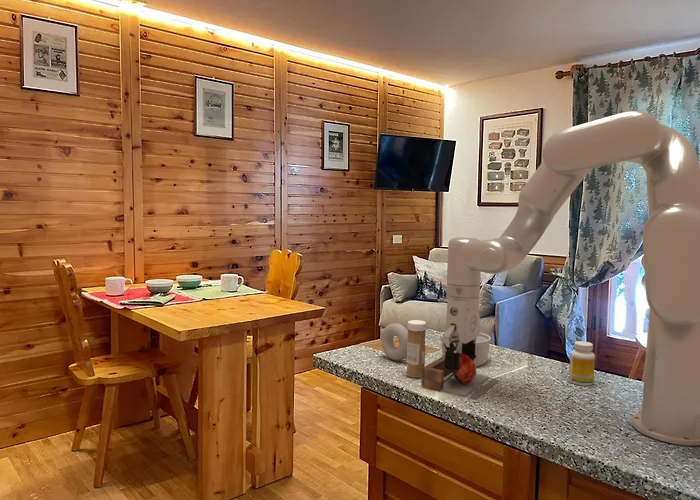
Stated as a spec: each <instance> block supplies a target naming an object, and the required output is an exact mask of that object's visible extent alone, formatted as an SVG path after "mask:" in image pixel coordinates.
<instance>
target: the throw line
mask: <svg viewBox="0 0 700 500" xmlns="http://www.w3.org/2000/svg"><path fill="white" fill-rule="evenodd" d="M499 382H500V379H497V378H492V379H490V380H489V381H488V382H486V383H485V384H484V385H483V386H481V387H480V388H479V389H478V390H476V391H475V392H474V393H472V394H471V395H469V399H472V400H478V399H479V398H480V397H482V396H483V395H484V394H485V393H486V392H487V391H489V390H490V389H491V388H492V387H494V386H495V385H496V384H498V383H499Z"/></svg>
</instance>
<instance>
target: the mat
mask: <svg viewBox="0 0 700 500" xmlns="http://www.w3.org/2000/svg"><path fill="white" fill-rule="evenodd" d="M452 374H453V373H451V374H449V375H447V376H446V377H444V381H445V380H446V379H447V378H449V377H450V376H451V375H452ZM489 378H490V377H489V376H486V375H483V374H477V373H476V375H475V377H474V379H473V380H472V381H471V382H469V383H467V384H462V383H461V382H460V381H458V380H457V379H456V378H455V377H454V376H452V377H451V378H450V379H449V380H447V381H446V382H444V385H443V388H442V389H441V391H440V392H442V393H447V394H452V395H456V396H460V397H464V398H466V397H467V396H468V395H470V393H472V392H473V391H475V390H476V389H477V388H479V386H481V385H482V384H483V383H485V382H486V381H488V380H489Z"/></svg>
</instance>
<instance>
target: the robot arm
mask: <svg viewBox="0 0 700 500" xmlns="http://www.w3.org/2000/svg"><path fill="white" fill-rule="evenodd" d="M541 154H542V155H541V157H542V162H541V163H540V164H539V166H538V167H537V169H536V170H535V172H534V173H533V174H532V175H531V177H530V178H529V180H527V182H526V183H525V185H524V186H523V187H522V188H521V190H520V192H519V194H518V206H517V210H516V213H515V214H514V217H513V219H512V220H511V222H510V223H509V225H507V227H506V229H505V230H504V231H503V233H502V234H501V235H500V237H499V238H498V237H497V238H494V239H486V240H485V239H484V240H479V239H478V238H475V237H453V238H451V239H450V240H449V241H448V246H447V269H446V270H447V271H446V272H447V273H446V295H445V296H446V298H447V306H446V314H445V329H444V330H445V331H444V332H445V335H444V342H445V343H444V346H445V368H446V369H451V370H456V371H457V370H459V354H460V353H458V350H459V347H460V344H461V342H462V353H463V354H466V355H468V357H472V356H474V355H475V343H476V338H477V337H478V336H479V332H480V331H481V330H480V328H481V327H480V326H481V325H480V324H481V323H480V321H481V320H480V319H481V318H480V316H481V315H480V301H479V300H480V298H481V294H480V292H481V276H482V275H481V273H485V274H489V275H497V274H501V273H504V272H507V271H510V270H511V271H512V270H513V269H515V268H517V267H518V266H519V265H520V264H521V263H522V262H523V261H524V260H525V258H526V257H527V256H528V255H529V253H530V252H531V251H532V250H533V249H534V247H535V246H536V245H537V244H538V242H539V240H540V239H541V238H542V236H543V234H544V233H545V231H546V230H547V229H548V227H549V225H550V224H551V223H552V221H553V219H554V217H555V216H556V215H557V213H558V212H559V210H560V209H561V208H562V207H563V205H564V204H565V202H566V201H567V200H568V199H569V198H570V197H571V195H572V194H573V193H574V191H575V190H576V189H577V188H578V186H579V185H580V184H581V182H582V181H583V180H584V179H585V178H586V176H587V175H588V173H589V172H590V171H591V169H594V168H601V167H605V166H609V165H612V164H616V163H623V162H626V161H627V162H630V163H633V164H638V165H640V166H641V167H642V168H643V170H644V171H645V175H646V191H647V197H648V198H647V200H648V218H647V220H646V221H645V223H644V225H643V231H642V253H643V266H644V267H643V268H644V281H645V283H644V284H645V286H644V287H645V297H646V301H647V304H648V306H649V313H648V314H649V315H648V324H647V325H648V327H647V334H646V335H647V337H646V347H645V348H646V350H645V351H646V352H645V361H644V362H645V363H644V364H645V365H644V373H643V374H644V376H643V389H642V390H643V392H642V400H641V401H642V405H641V412H637V413H634V415H632V418H631V425H632V427H633V428H634V429H635V430H636V431H638V432H639V433H641V434H643V435H645V436H647V437H649V438H652V439H655V440H657V441H661V442H665V443H667V444H673V445H678V446H679V445H680V446H689V447H690V446H691V447H692V446H694V447H695V446H697V447H698V446H700V162H699V157H698V154H697V152H696V150H695V147H694V146H693V144H691V142H690V141H689V140H688V138H686V136H685V135H684V134H682V133H681V132H679V131H678V130H676V129H675V128H672V127H670V126H667V125H665V124H662V123H660V122H659V121H658V120H657V118H656V117H655V116H653V115H652V114H650V113H648V112H646V111H642V110H628V111H623V112H620V113H616V114H613V115H609V116H606V117H602V118H599V119H595V120H592V121H587V122H584V123H581V124H577V125H574V126H570V127H567V128H566V127H565V128H563V129H561V130H557V132H554V133H553V134H551V135H550V136H549V137H548V139H547V140H546V141H545V143H544V145H543V148H542V152H541ZM480 333H481V332H480ZM455 338H456V339H455ZM453 343H456V345H455V346H454V344H453Z"/></svg>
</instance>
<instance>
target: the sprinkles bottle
mask: <svg viewBox="0 0 700 500" xmlns="http://www.w3.org/2000/svg"><path fill="white" fill-rule="evenodd" d="M406 325H407V327H406V329H407V330H408V341H407V357H406V363H407V364H406V373H405V374H406V376H407V377H409V378H413V379H422V368H423V367H425V366H426V365H425V364H426V363H425V362H426V332H427V331H426V330H427V322H426V320H425V321H424V320H421V319H420V320H419V319H413V320H411V319H410V320H408V321H407V324H406Z"/></svg>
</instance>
